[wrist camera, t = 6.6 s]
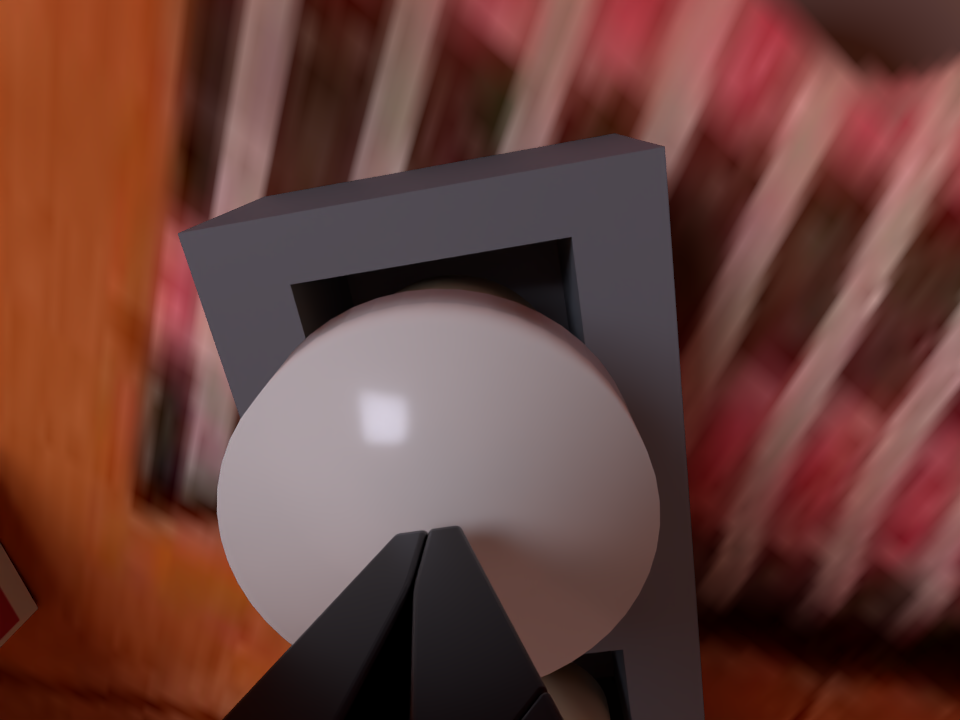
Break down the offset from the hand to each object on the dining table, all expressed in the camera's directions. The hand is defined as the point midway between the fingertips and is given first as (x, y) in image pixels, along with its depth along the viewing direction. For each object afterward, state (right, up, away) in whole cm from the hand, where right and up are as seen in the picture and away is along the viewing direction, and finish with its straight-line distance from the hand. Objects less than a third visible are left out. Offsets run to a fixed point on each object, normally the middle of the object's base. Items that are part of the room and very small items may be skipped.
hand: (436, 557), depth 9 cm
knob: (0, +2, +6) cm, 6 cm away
